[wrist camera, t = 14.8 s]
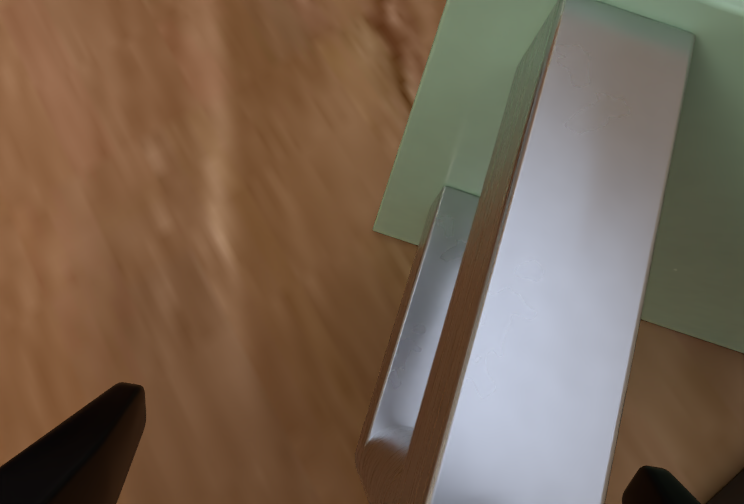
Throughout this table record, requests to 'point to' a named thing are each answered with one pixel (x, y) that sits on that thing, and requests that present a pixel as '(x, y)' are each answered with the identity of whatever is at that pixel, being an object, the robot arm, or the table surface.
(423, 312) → the cabinet door
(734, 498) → the button block
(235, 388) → the table surface
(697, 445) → the table surface
